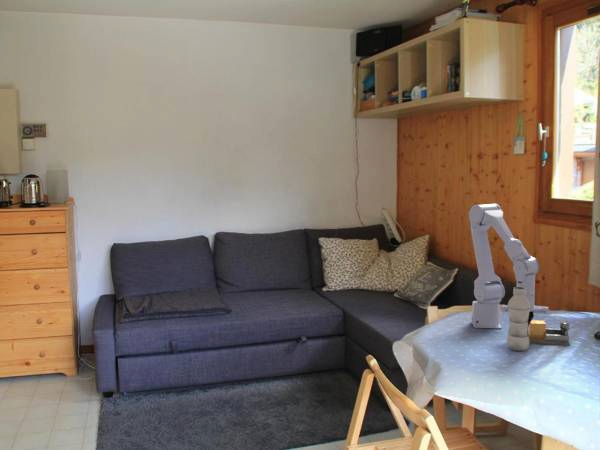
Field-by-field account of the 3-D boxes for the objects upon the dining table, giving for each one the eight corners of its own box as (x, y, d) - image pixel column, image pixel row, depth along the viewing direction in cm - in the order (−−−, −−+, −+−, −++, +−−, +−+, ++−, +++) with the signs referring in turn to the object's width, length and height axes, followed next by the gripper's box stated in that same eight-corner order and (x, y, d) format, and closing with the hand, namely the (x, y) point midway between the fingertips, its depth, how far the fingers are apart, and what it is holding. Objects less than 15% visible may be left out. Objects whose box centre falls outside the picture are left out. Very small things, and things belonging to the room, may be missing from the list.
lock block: (530, 337, 189) (530, 323, 188) (528, 334, 192) (528, 320, 192) (546, 338, 188) (546, 323, 187) (543, 335, 191) (544, 320, 191)
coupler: (530, 343, 186) (530, 326, 185) (524, 333, 196) (525, 317, 195) (572, 345, 183) (573, 327, 183) (564, 335, 193) (565, 318, 192)
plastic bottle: (531, 353, 176) (533, 291, 174) (508, 352, 178) (510, 290, 175) (527, 346, 183) (529, 286, 180) (505, 345, 184) (506, 285, 181)
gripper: (504, 296, 187) (503, 335, 188) (551, 297, 184) (549, 338, 185) (501, 290, 194) (500, 329, 195) (546, 292, 191) (545, 331, 192)
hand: (524, 333), depth 191 cm, fingers closed
